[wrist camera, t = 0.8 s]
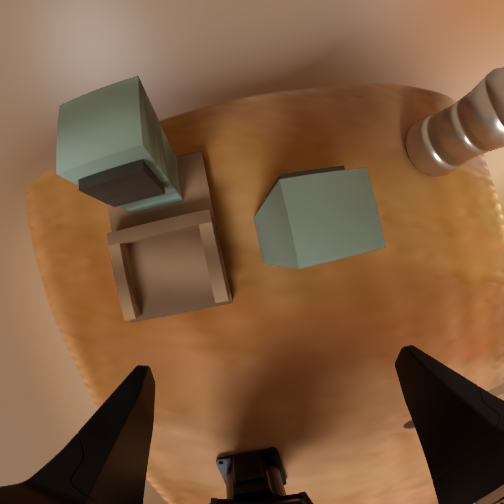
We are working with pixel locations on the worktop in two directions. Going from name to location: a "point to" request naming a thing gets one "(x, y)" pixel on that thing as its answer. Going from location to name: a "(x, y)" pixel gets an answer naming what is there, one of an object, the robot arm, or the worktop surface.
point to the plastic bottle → (460, 129)
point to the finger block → (318, 218)
